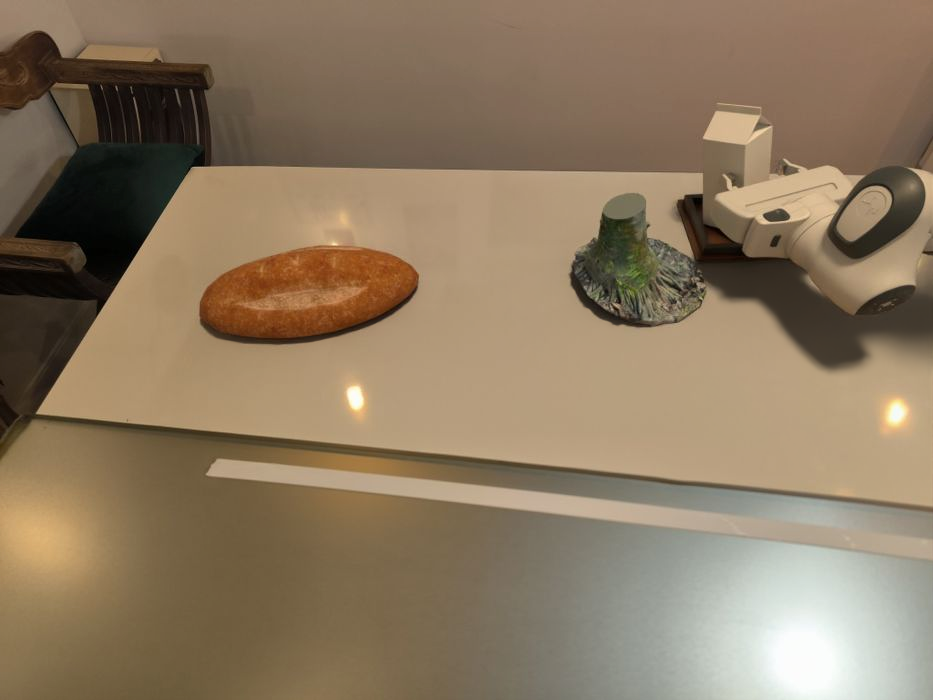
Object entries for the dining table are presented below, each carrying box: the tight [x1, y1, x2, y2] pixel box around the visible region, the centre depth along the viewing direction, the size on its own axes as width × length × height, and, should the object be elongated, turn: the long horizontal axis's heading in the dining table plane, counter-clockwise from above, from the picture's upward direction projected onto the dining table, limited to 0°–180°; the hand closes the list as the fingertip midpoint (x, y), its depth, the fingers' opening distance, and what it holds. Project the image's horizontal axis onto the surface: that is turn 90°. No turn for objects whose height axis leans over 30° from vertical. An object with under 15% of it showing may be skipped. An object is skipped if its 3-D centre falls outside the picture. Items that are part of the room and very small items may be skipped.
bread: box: [198, 244, 420, 339], centre depth 95 cm, size 18×35×9 cm, turn 97°
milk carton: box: [702, 102, 774, 228], centre depth 95 cm, size 7×7×19 cm
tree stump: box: [572, 192, 708, 327], centre depth 91 cm, size 18×20×18 cm
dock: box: [676, 193, 782, 264], centre depth 101 cm, size 15×15×2 cm
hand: (750, 170), depth 94 cm, fingers open, 8 cm apart
